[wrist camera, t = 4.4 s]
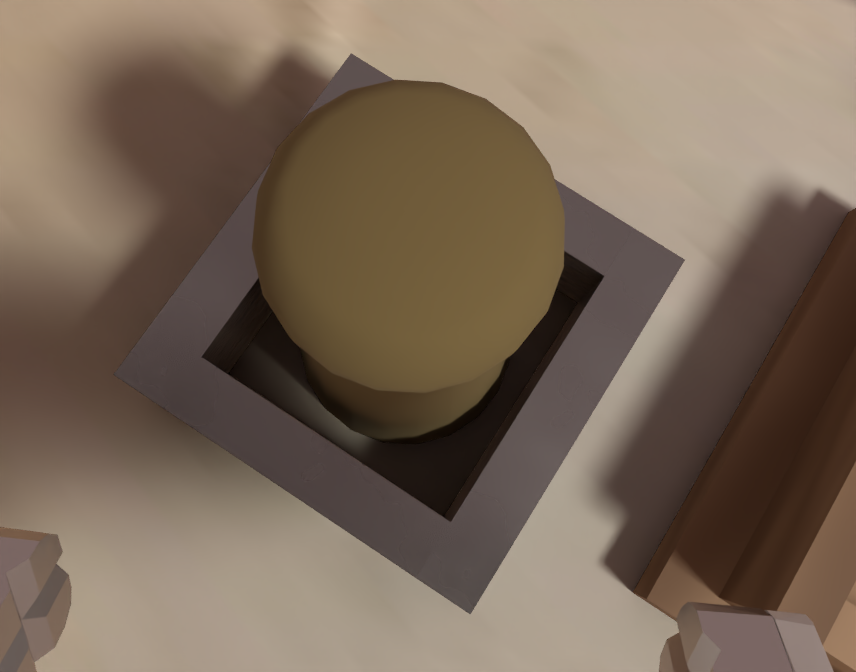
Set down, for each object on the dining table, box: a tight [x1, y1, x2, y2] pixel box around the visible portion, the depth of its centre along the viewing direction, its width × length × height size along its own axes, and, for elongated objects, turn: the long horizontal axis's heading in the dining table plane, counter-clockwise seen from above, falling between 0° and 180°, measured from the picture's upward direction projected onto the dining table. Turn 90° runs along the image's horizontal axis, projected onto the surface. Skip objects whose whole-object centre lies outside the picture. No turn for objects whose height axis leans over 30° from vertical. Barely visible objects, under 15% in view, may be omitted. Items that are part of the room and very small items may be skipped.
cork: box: [252, 80, 565, 444], centre depth 17 cm, size 6×6×11 cm
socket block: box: [114, 54, 685, 614], centre depth 21 cm, size 10×10×3 cm
